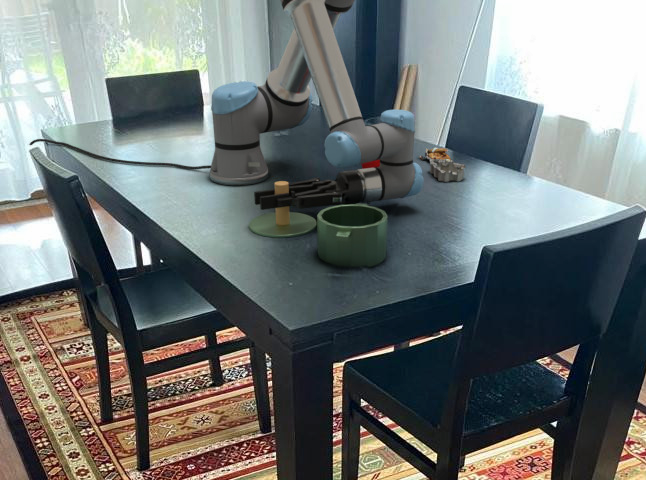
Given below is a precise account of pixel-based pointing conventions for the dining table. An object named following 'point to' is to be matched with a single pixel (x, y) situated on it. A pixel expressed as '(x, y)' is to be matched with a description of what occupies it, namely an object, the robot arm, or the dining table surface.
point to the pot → (352, 235)
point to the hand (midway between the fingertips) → (258, 200)
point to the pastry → (436, 154)
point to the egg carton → (446, 170)
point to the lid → (282, 220)
